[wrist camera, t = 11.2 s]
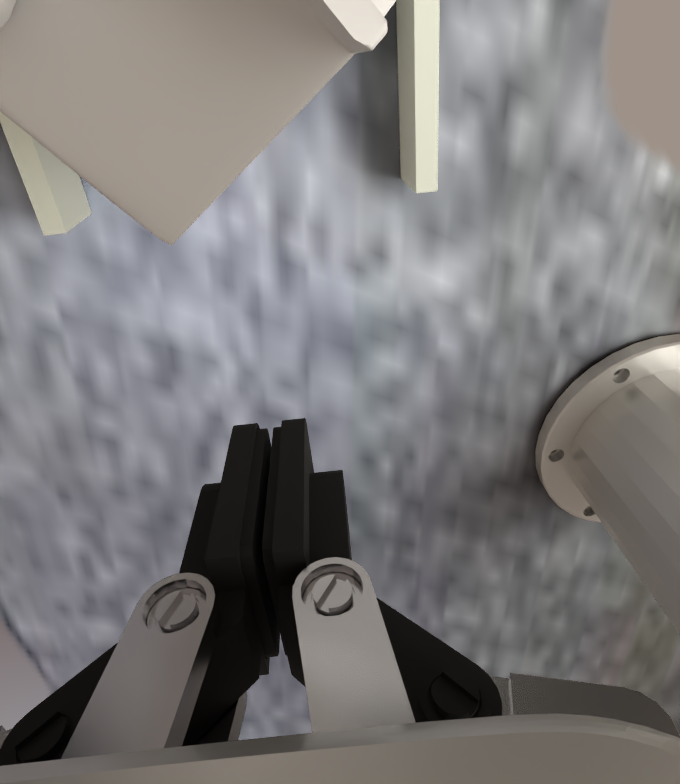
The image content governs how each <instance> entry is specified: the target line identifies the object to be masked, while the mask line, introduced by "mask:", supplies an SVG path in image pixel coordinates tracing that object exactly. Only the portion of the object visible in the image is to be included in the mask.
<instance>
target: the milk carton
mask: <svg viewBox="0 0 680 784" xmlns="http://www.w3.org/2000/svg"><path fill="white" fill-rule="evenodd" d="M395 1H396V0H0V111H1V112H2V113H3V114H4V115H6V116H7V117H8V118H9V119H10V120H12V121H13V122H14V123H15V124H17V125H18V126H19V127H20V128H22V129H23V130H24V131H25V132H26V133H28V134H29V135H30V136H31V137H33V138H34V139H35V140H36V141H37V142H39V143H40V144H41V145H42V146H44V147H45V148H46V149H47V150H48V151H50V152H51V153H52V154H53V155H55V156H56V157H57V158H58V159H59V160H61V161H62V162H63V163H64V164H66V165H67V166H68V167H69V168H70V169H72V170H73V171H74V172H75V173H77V174H78V175H79V176H80V177H81V178H83V179H84V180H85V181H86V182H88V183H89V184H90V185H91V186H93V187H94V188H95V189H96V190H98V191H99V192H100V193H101V194H103V195H104V196H105V197H106V198H108V199H109V200H110V201H112V202H113V203H114V204H115V205H117V206H118V207H119V208H120V209H122V210H123V211H124V212H125V213H127V214H128V215H129V216H131V217H132V218H133V219H134V220H136V221H137V222H138V223H139V224H141V225H142V226H143V227H145V228H146V229H147V230H149V231H150V232H151V233H153V234H154V235H155V236H157V237H158V238H159V239H161V240H162V241H164V242H166V243H168V244H170V245H172V244H173V243H174V242H175V241H176V240H177V239H178V238H179V237H180V236H181V235H182V234H183V233H184V232H185V231H186V230H187V229H188V228H189V227H190V226H191V225H192V224H193V223H194V222H195V221H196V220H197V218H198V217H199V216H200V215H201V214H202V213H203V212H204V211H205V210H206V209H207V208H208V207H209V206H210V205H211V204H212V203H213V202H214V201H215V200H216V199H217V198H218V197H219V195H220V194H221V193H222V192H223V191H224V190H225V189H226V188H227V187H228V186H229V185H230V184H231V183H232V182H233V181H234V180H235V179H236V178H237V177H238V176H239V175H240V174H241V172H242V171H243V170H244V169H245V168H246V167H247V166H248V165H249V164H250V163H251V162H252V161H253V160H254V159H255V158H256V157H257V156H258V155H259V154H260V153H261V152H262V150H263V149H264V148H265V147H266V146H267V145H268V144H269V143H270V142H271V141H272V140H273V139H274V138H275V137H276V136H277V135H278V134H279V133H280V132H281V131H282V130H283V129H284V127H285V126H286V125H287V124H288V123H289V122H290V121H291V120H292V119H293V118H294V117H295V116H296V115H297V114H298V113H299V112H300V111H301V110H302V109H303V108H304V107H305V106H306V105H307V103H308V102H309V101H310V100H311V99H312V98H313V97H314V96H315V95H316V94H317V93H318V92H319V91H320V90H321V89H322V88H323V87H324V86H325V85H326V84H327V83H328V81H329V80H330V79H331V78H332V77H333V76H334V75H335V74H336V73H337V72H338V71H339V70H340V69H341V68H342V67H343V66H344V65H345V64H346V63H347V62H348V61H349V60H350V58H352V56H353V55H354V54H355V53H361V52H368V51H372V50H373V49H374V48H375V47H376V46H377V44H378V43H379V42H380V41H381V40H382V39H383V38H384V36H385V35H386V33H387V30H388V28H387V20H386V19H385V18H384V16H385V15H386V13H387V12H388V11H389V9H390V8H391V7H392V5H393V4H394V3H395Z"/></svg>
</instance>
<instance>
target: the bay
mask: <svg viewBox="0 0 680 784" xmlns="http://www.w3.org/2000/svg"><path fill="white" fill-rule="evenodd" d="M396 12H397V51H398V90H399V129H400V167H401V179H402V180H403V181H404V182H405V183H406V184H407V185H408V186H409V187H410V188H411V189H412V190H413V191H414V192H415V193H424V192H432V191H438V99H439V0H396ZM0 123H1V126H2V128H3V131H4V134H5V136H6V139H7V141H8V144H9V146H10V149H11V152H12V154H13V157H14V159H15V162H16V165H17V167H18V170H19V172H20V175H21V177H22V180H23V183H24V185H25V188H26V190H27V193H28V196H29V198H30V201H31V203H32V206H33V209H34V211H35V214H36V216H37V219H38V221H39V224H40V227H41V229H42V232H43V234H44V236H45V235H54V234H62V233H67V232H68V231H70V230H71V229H72V228H73V227H75V226H76V225H77V224H79V223H80V222H81V221H83V220H84V219H85V218H86V217H88V216H89V215H90V214H92V213H91V210H90V206H89V203H88V200H87V197H86V194H85V191H84V188H83V185H82V182H81V179H80V176H79V175H78V174H77V173H75V172H74V171H73V170H72V169H70V168H69V167H68V166H67V165H66V164H64V163H63V162H62V161H61V160H59V159H58V158H57V157H56V156H55V155H53V154H52V153H51V152H50V151H48V150H47V149H46V148H45V147H44V146H42V145H41V144H40V143H39V142H37V141H36V140H35V139H34V138H33V137H31V136H30V135H29V134H28V133H26V132H25V131H24V130H23V129H22V128H20V127H19V126H18V125H17V124H15V123H14V122H13V121H12V120H10V119H9V118H8V117H7V116H6V115H4V114H3V113H2V112H1V111H0Z"/></svg>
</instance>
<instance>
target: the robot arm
mask: <svg viewBox="0 0 680 784" xmlns="http://www.w3.org/2000/svg"><path fill="white" fill-rule="evenodd" d="M535 458H536V469H537V472H538V475H539V478H540V481H541V483H542V484H543V486H544V488H545V489H546V491H547V493H548V494H549V496H550V497H551V498H552V500H553V501H554V502H555V503H556V504H557V505H558V506H559V507H560V508H562V509H563V510H565V511H566V512H568V513H569V514H571V515H573V516H576V517H578V518H581V519H584V520H588V521H594V522H600V523H602V524H603V525H604V527H605V528H606V529H607V531H608V532H609V534H610V535H611V537H612V538H613V540H614V541H615V542H616V544H617V545H618V547H619V548H620V550H621V551H622V552H623V554H624V555H625V557H626V558H627V560H628V561H629V562H630V564H631V565H632V567H633V568H634V570H635V571H636V572H637V574H638V575H639V577H640V578H641V580H642V581H643V582H644V584H645V585H646V587H647V588H648V590H649V591H650V592H651V594H652V595H653V597H654V598H655V600H656V601H657V603H658V604H659V605H660V607H661V608H662V610H663V611H664V613H665V614H666V615H667V617H668V618H669V620H670V621H671V623H672V624H673V625H674V627H675V628H676V630H677V631H678V633H679V634H680V334H675V335H667V336H659V337H655V338H652V339H648V340H645V341H641V342H638V343H635V344H632V345H630V346H628V347H626V348H624V349H621V350H619V351H617V352H615V353H613V354H611V355H609V356H608V357H606V358H605V359H603V360H601V361H600V362H598V363H597V364H595V365H593V366H592V367H590V368H589V369H588V370H587V371H586V372H585V373H583V374H582V375H581V376H580V377H579V378H577V379H576V380H575V381H574V382H573V383H572V384H571V385H570V386H569V387H568V388H567V389H566V390H565V392H564V393H563V394H562V395H561V396H560V397H559V398H558V399H557V401H556V402H555V404H554V405H553V407H552V409H551V410H550V412H549V413H548V415H547V416H546V418H545V421H544V423H543V425H542V428H541V430H540V432H539V435H538V440H537V445H536V450H535ZM280 634H281V639H282V643H283V647H284V651H285V655H287V657H288V661H289V665H290V669H291V674H292V675H293V676H294V677H295V678H296V679H297V680H298V681H299V682H300V683H302V684H303V685H304V686H305V687H306V693H307V700H308V706H309V713H310V720H311V726H312V733H307V734H297V735H287V736H277V737H267V738H258V739H248V740H238V738H239V734H240V730H241V726H242V722H243V717H244V713H245V709H246V703H247V692H246V691H247V690H248V689H249V688H250V687H251V686H252V685H253V684H254V683H255V682H256V681H257V680H258V679H259V675H266V674H269V660H270V657H274V656H278V654H279V642H280ZM0 784H680V735H679V732H678V730H677V729H676V727H675V725H674V723H673V721H672V719H671V717H670V716H669V715H668V714H667V712H666V711H665V710H664V709H663V708H662V707H661V706H660V705H659V704H658V703H657V702H656V701H654V700H653V699H651V698H649V697H648V696H646V695H645V694H643V693H641V692H639V691H635V690H632V689H629V688H625V687H619V686H611V685H603V684H595V683H587V682H579V681H571V680H564V679H556V678H548V677H540V676H532V675H524V674H516V673H510V676H509V678H501V677H494V676H489V675H488V674H487V673H486V672H485V671H484V670H483V669H481V668H480V667H479V666H478V665H477V664H475V663H474V662H472V661H471V660H469V659H468V658H466V657H465V656H463V655H462V654H460V653H459V652H457V651H456V650H454V649H453V648H451V647H450V646H448V645H447V644H445V643H444V642H442V641H441V640H439V639H438V638H436V637H435V636H433V635H432V634H430V633H429V632H427V631H426V630H424V629H423V628H421V627H420V626H418V625H417V624H415V623H414V622H412V621H411V620H409V619H408V618H406V617H405V616H403V615H402V614H400V613H399V612H397V611H396V610H394V609H393V608H391V607H390V606H388V605H387V604H385V603H384V602H382V601H381V600H379V599H378V598H376V595H375V592H374V589H373V585H372V582H371V579H370V577H369V576H368V574H367V572H366V570H365V569H364V568H362V567H361V566H360V565H359V564H358V563H356V562H354V561H352V558H351V547H350V536H349V525H348V515H347V506H346V496H345V487H344V479H343V471H342V470H338V471H329V472H319V473H314V470H313V463H312V456H311V450H310V443H309V436H308V430H307V423H306V419H305V418H303V419H293V420H284V421H282V426H281V427H275V428H274V429H273V438H272V448H271V443H270V438H269V433H268V430H267V428H266V429H260V428H259V425H258V424H257V423H255V424H245V425H236V426H233V429H232V434H231V439H230V443H229V448H228V452H227V457H226V462H225V466H224V471H223V476H222V480H221V483H214V484H205V485H204V486H203V487H202V489H201V492H200V496H199V499H198V503H197V507H196V511H195V515H194V519H193V522H192V526H191V530H190V534H189V538H188V542H187V545H186V549H185V553H184V557H183V561H182V565H181V568H180V572H179V574H175V575H172V576H169V577H166V578H164V579H162V580H161V581H159V582H157V583H156V584H154V585H153V586H152V587H151V588H149V589H148V590H147V591H146V592H145V593H144V594H143V596H142V597H141V599H140V600H139V602H138V603H137V605H136V607H135V609H134V611H133V613H132V615H131V617H130V619H129V621H128V623H127V625H126V627H125V629H124V631H123V634H122V636H121V638H120V640H119V642H118V643H117V644H115V645H114V646H113V647H112V648H110V649H109V650H108V651H106V652H105V653H104V654H103V655H101V656H100V657H99V658H97V659H96V660H95V661H94V662H92V663H91V664H90V665H89V666H87V667H86V668H85V669H83V670H82V671H81V672H80V673H78V674H77V675H76V676H74V677H73V678H72V679H71V680H69V681H68V682H67V683H66V684H64V685H63V686H62V687H60V688H59V689H58V690H57V691H55V692H54V693H53V694H51V695H50V696H49V697H48V698H46V699H45V700H44V701H43V702H41V703H40V704H39V705H37V706H36V707H35V708H34V709H32V710H31V711H30V712H29V713H28V714H26V715H25V716H24V717H23V718H22V719H21V720H20V721H19V722H18V723H17V724H16V725H15V726H14V727H13V729H10V730H7V731H6V730H5V729H4V728H3V726H0Z"/></svg>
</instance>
